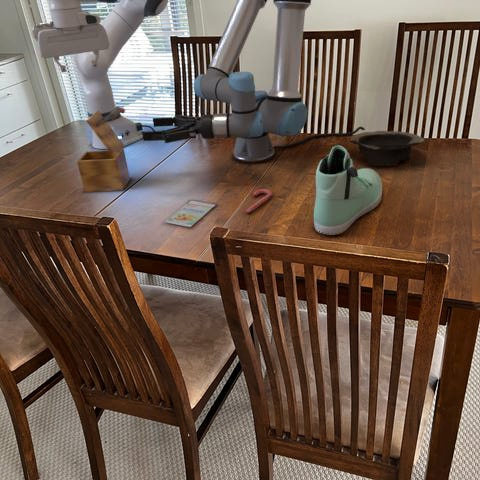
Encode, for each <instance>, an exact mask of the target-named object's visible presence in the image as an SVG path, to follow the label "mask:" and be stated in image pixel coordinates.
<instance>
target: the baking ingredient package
mask: <svg viewBox="0 0 480 480" xmlns="http://www.w3.org/2000/svg"><path fill="white" fill-rule="evenodd" d="M215 206H216V204H213V203H207V202H202V201H196V200H190V201H189V202H187V203H186V204H185V205H184V206H183V207H181V208H180V209H179V210H178V211H176V212H174V214H172V215H171V216H169V218H167V219H166V220H165V221H164V223H167V224H172V225H177V226H182V227H189V228H191V227H192V226H193V225H195V224H196V223H197V222H198V221H199V220H201V219H202V218H203V217H204V216H205V215H206V214H207V213H208V212H210V210H212V209H213V208H214V207H215Z"/></svg>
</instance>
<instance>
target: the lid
mask: <svg viewBox="0 0 480 480" xmlns="http://www.w3.org/2000/svg"><path fill="white" fill-rule="evenodd" d="M115 107H116V108H115V109H114V110H113V111H112V112H111V113H110V114H109V115H107V116H106V117H104V118H103V116H102V115H101V114H100V112H99V111H96V112H95V113H94V114H93V115H92V116H91V117H90V118H88V119H87V120H86V123H87V124H88V125H89V127H90V129H91V128H92V129H93V131H94V132H95V133H96V135H97V136H98V137H99V139H100V140H101V141H102V142H103V144H104V145H105V146H106V148H107V149H106V150H109V152H110V153H111V154H112V156H113V157H114V158H116V157H118V155H119V154H120V153H121V151H122V150H123V149H124V148H125V147H126V146H124V145H123V143H122V142H121V141H120V139H119V138H118V137H117V135H116V134H115V133H114V131H113V130H112V129H111V127H110V126H109V125H108V123H107V122H106V121H108V120H109V119H112V120H113V119H115V118H116V117H117V115H118V114H119V113H120V112H121V108H122V107H119V106H115ZM120 114H121V113H120ZM92 129H91V130H92Z"/></svg>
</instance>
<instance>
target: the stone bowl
mask: <svg viewBox="0 0 480 480" xmlns="http://www.w3.org/2000/svg"><path fill="white" fill-rule="evenodd" d="M424 142H426V140H425V138H424V137H421V136H419V135H418V134H415V133H413V132H412V133H410V132H408V131H400V130H399V131H397V130H374V131H364V132H360V133H355V134H352V135H350V137H349V143H352V144H355V145H358V151H359V153H360V155H361V156H362V157H363V158H365V159H366V160H368V164H369V165H370V166H373V167H375V166H377V167H387V166H395V165H398V164H399V162H400V161H408V160H410V158H411V155H412V147H415V146H418V145H420V144H422V143H424Z"/></svg>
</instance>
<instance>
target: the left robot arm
mask: <svg viewBox="0 0 480 480" xmlns="http://www.w3.org/2000/svg"><path fill="white" fill-rule="evenodd" d="M101 3H103V4H115V3H117V4H116V5H114V6H113V8H112V9H111V11H109V13H108V14H106V17H104V19H103V20H101V16H100V15H99V14H95V13H90V12H89V11H84V10H83V8H82V5H81V4H101ZM168 3H169V0H120V1H119V2H118V0H48V9H49V10H48V11H49V14H50V18H51V21H46V22H39V23H36V24H35V25H34V26H33V27H32V35H33V38H34V39H35V40H36V42H37V44H36V45H37V51H38V55H39V56H40V57H41V58H43V59H51V58H52V59H53V61H54V63H56V64H57V65H58V67H59V70H60V72H61V73H62V74H63V73H67V71H68V70H67V66H66V65H65V64H61V62H60V61H61V59H60V57H64V56H71V55H72V56H73V59H74V63H75V66H76V70H77V75H78V78H79V80H80V85H81V88H82V92H83V96H84V100H85V104H86V109H87V118H88V119H89V118H90V117H91V116H92V115H93V114H94V113H95V112H96V111H99V112H100V114H101V115H102V116H103V118H104V117H106V116H107V115H109V114H110V113H111V112H112V111H113V110H114V109H115V108H116V107H117V106H116V103H115V97H114V94H113V88H112V86H111V81H110V78H109V76H108V72H109V69H110V67H111V66H112V65H113V63H114V61H115V60H116V59H117V57H118V55H119V53H120V52H121V50H122V49H123V47H124V46H125V45H126V44H127V43H128V41H130V39H131V38H132V36H133V35H134V34H135V33H136V32H137V30H139V28H140V26H141V25H142V23H143V21H144V20H145V18H148V17H151V18H152V17H157V16H159V15H160V14H161V13H162V12H164V10H165V9H166V7H167V5H168ZM120 108H121V112H120V113H119V114H118V115H117V117H116V118H115V119H113V120H112V119H109V120H108V121H106V122H107V123H108V125H109V126H110V127H111V129H112V130H113V131H114V133H115V134H116V135H117V137H118V138H119V139H120V141H121V142H122V143H123V145H124V146H125V147H127V146H128V145H131V144H132V143H135V142H137V141H139V140H141V139H143V135H142V132H143V131H144V128H149V129H151V131H156V130H155V129H154V127H153V126H150V125H147V124H143V123H142V122H141V121H140V122H134V121H133V120H131V119H129V118H127V117H125V116H123V115H122V114H125V112H126V109H125V108H124V107H123V108H122V107H120ZM177 128H181V126H176V127H172V128H169V129H166V130H165V129H164V130H165V132H167V131H170V130H174V129H177ZM90 129H91V137H92V138H91V140H92V141H91V147H92V148H94V149H98V150H108V149H107V148H106V146H105V145H104V144H103V142H102V141H101V140H100V139H99V137H98V136H97V135H96V133H95V132H94V131H93V129H92V128H91V127H90Z"/></svg>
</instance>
